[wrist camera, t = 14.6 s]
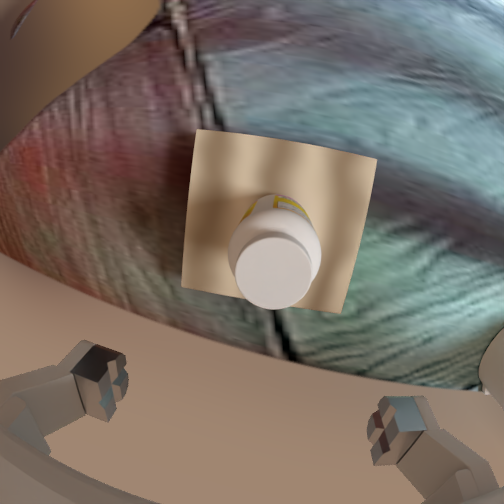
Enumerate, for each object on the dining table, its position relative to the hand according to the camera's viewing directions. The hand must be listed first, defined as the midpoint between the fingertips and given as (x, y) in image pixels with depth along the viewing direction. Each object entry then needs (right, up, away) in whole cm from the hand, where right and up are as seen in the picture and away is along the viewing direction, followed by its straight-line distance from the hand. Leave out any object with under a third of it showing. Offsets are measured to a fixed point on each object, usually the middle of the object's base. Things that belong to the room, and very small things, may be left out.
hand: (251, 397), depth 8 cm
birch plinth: (+3, +8, +26) cm, 27 cm away
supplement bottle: (+3, +7, +22) cm, 23 cm away
